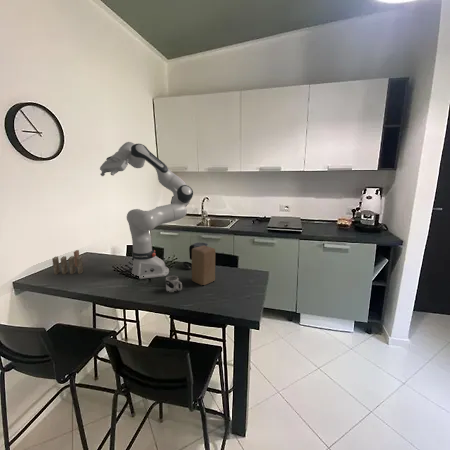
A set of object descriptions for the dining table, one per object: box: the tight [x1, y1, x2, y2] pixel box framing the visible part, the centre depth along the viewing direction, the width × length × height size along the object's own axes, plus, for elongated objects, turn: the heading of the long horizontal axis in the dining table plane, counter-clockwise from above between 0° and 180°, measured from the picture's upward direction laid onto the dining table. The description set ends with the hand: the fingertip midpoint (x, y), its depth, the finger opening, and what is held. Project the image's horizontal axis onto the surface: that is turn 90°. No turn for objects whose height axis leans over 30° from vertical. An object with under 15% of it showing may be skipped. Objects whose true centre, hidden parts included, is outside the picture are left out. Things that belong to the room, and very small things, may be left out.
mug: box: [165, 275, 183, 293], centre depth 149 cm, size 10×7×7 cm, turn 58°
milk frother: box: [182, 242, 208, 270], centre depth 183 cm, size 14×16×15 cm
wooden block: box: [191, 245, 216, 286], centre depth 159 cm, size 10×10×20 cm
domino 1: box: [51, 256, 61, 276], centre depth 168 cm, size 2×4×10 cm, turn 8°
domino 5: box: [76, 255, 84, 275], centre depth 170 cm, size 2×4×10 cm, turn 8°
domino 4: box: [73, 249, 80, 268], centre depth 181 cm, size 2×4×10 cm, turn 8°
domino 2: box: [60, 255, 69, 275], centre depth 169 cm, size 2×4×10 cm, turn 8°
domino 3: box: [68, 255, 76, 275], centre depth 169 cm, size 2×4×10 cm, turn 8°
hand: (106, 175), depth 173 cm, fingers open, 8 cm apart
